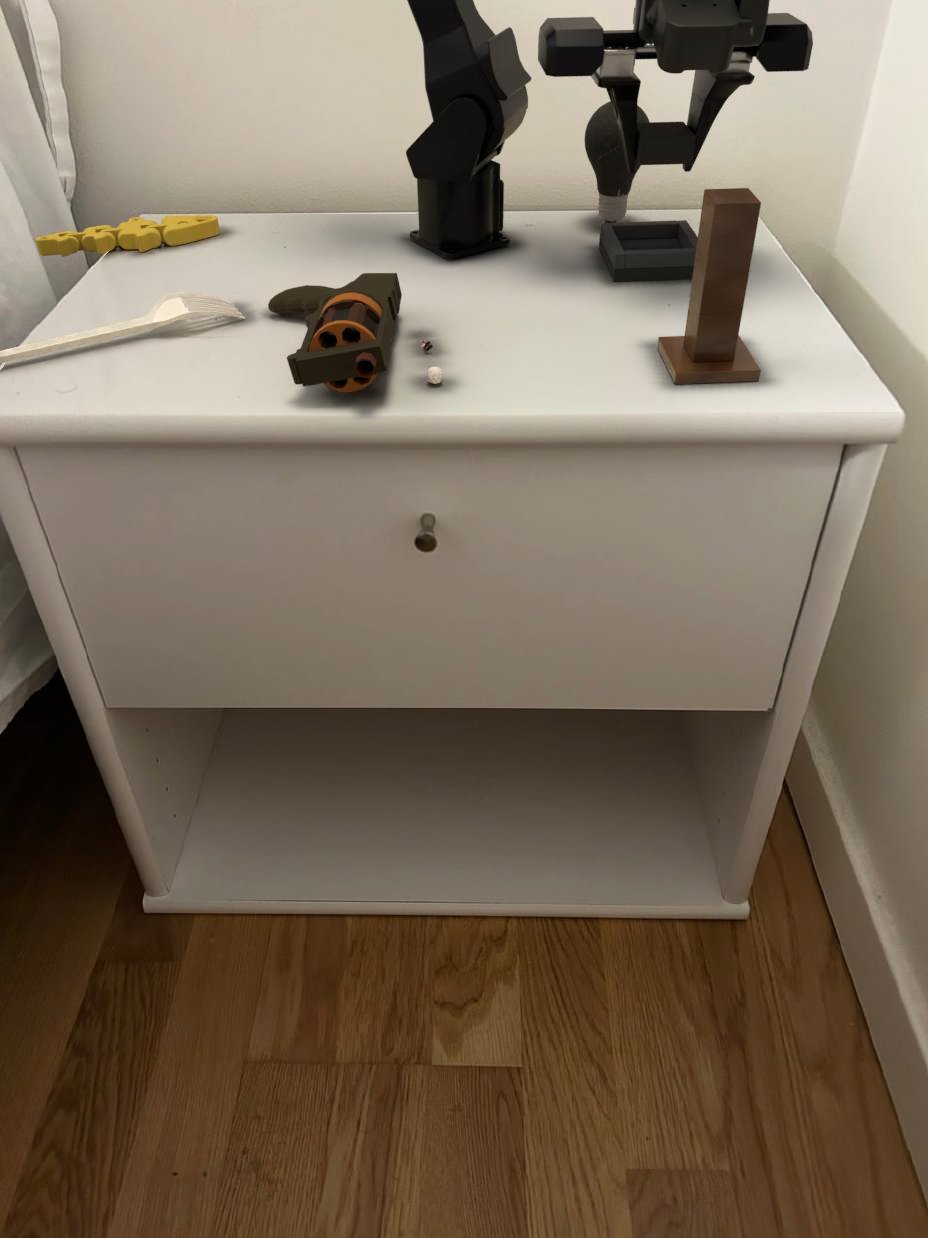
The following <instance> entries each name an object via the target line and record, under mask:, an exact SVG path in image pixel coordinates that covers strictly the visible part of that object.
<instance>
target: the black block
mask: <svg viewBox="0 0 928 1238" xmlns="http://www.w3.org/2000/svg"><path fill="white" fill-rule="evenodd" d="M695 137H696V136H695V134H694V133H693V132H692V131H691V130H690V129H689V128H688V126H687V123H685V121H655V122H654V121H651V122H650V121H649V122H646V123H637V157H636V160H637V162H638V163H639V165H641V166H660V165H661V166H662V165H664V166H665V165H683V164H692V161H693V153H694V145H695Z"/></svg>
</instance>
